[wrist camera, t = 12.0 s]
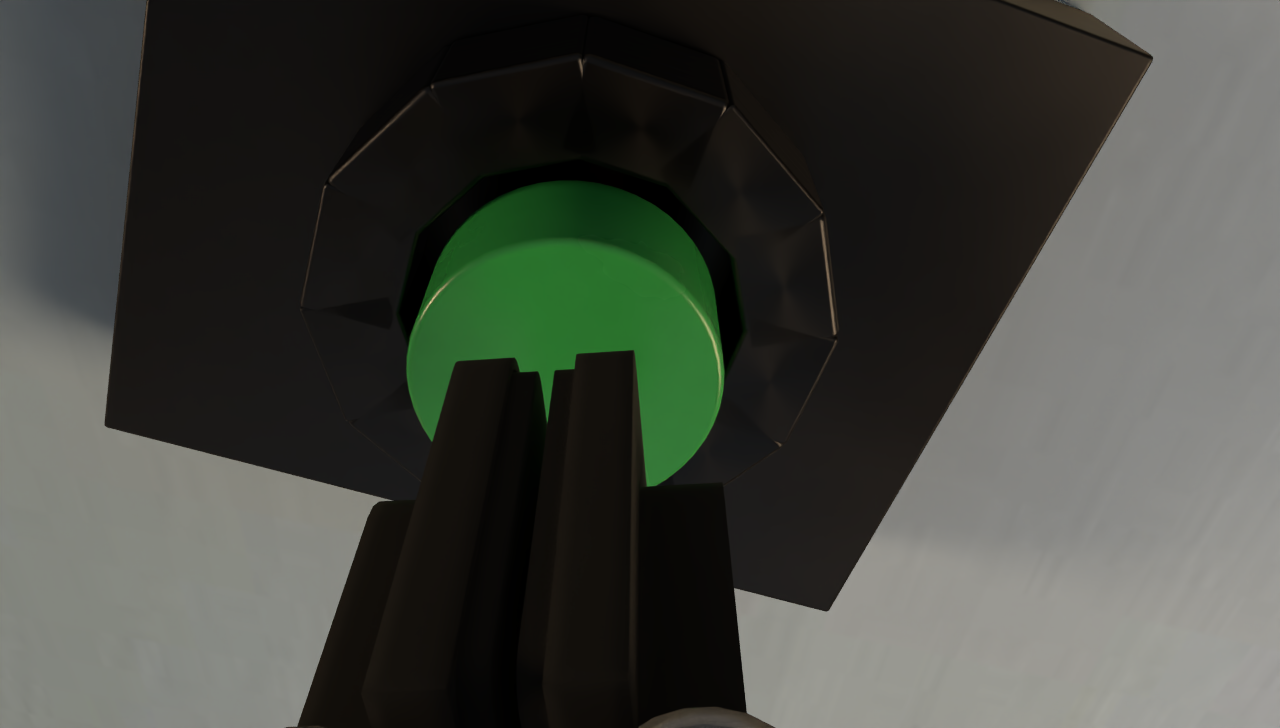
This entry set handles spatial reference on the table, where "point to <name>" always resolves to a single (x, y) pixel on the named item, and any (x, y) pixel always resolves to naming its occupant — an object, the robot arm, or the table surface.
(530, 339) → the button
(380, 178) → the block
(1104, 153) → the table surface
